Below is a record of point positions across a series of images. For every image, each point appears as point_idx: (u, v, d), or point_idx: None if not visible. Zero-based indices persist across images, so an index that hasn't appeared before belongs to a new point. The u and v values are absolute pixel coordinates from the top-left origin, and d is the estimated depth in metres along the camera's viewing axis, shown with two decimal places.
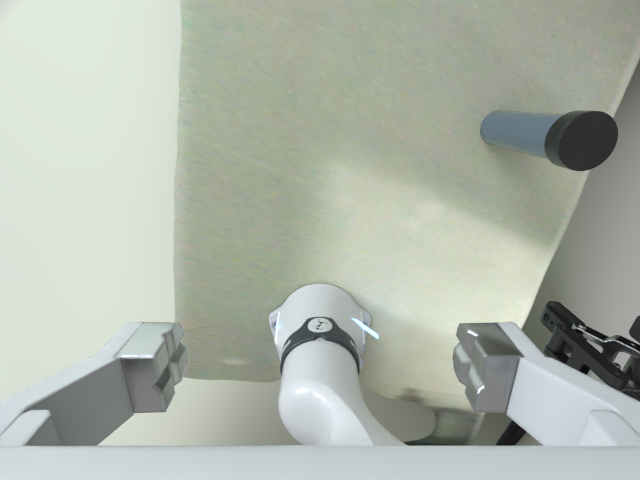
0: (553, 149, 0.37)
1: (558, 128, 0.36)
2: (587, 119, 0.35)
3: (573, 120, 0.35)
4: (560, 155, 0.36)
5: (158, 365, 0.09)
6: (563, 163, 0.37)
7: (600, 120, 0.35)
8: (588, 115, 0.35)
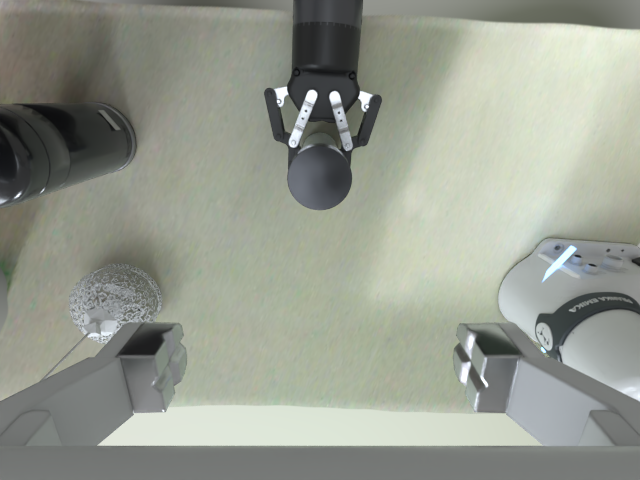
0: None
1: None
2: (297, 188, 0.33)
3: (300, 202, 0.33)
4: (337, 202, 0.33)
5: (158, 365, 0.09)
6: (345, 196, 0.33)
7: (296, 174, 0.32)
8: (293, 189, 0.33)
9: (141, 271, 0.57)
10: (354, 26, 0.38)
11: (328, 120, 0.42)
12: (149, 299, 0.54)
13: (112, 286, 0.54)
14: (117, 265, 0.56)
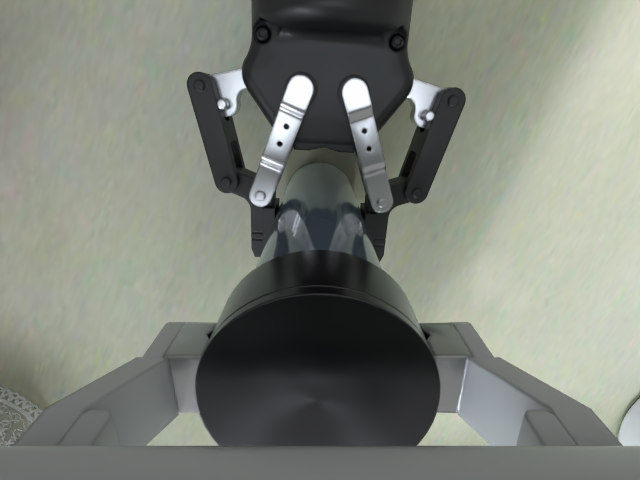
0: None
1: None
2: (234, 428, 0.09)
3: None
4: None
5: None
6: None
7: (227, 386, 0.08)
8: (219, 429, 0.09)
9: (13, 396, 0.33)
10: None
11: (339, 147, 0.18)
12: None
13: None
14: None
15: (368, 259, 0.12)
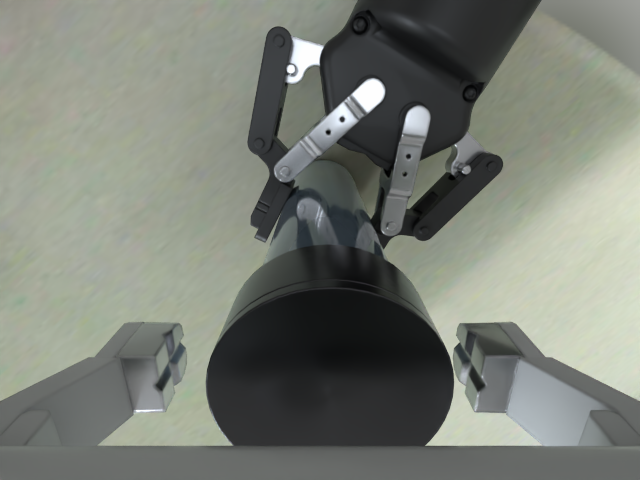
0: None
1: None
2: None
3: None
4: (436, 422, 0.09)
5: (158, 365, 0.09)
6: (450, 391, 0.08)
7: (249, 425, 0.09)
8: None
9: None
10: None
11: (377, 160, 0.19)
12: None
13: None
14: None
15: None
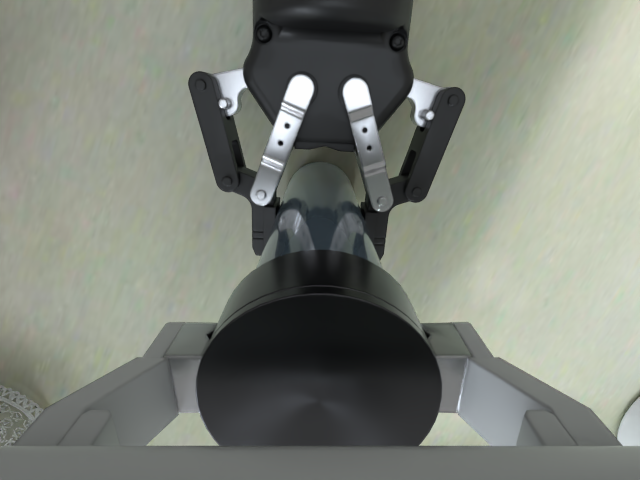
0: None
1: None
2: None
3: None
4: (435, 389, 0.08)
5: None
6: (432, 355, 0.08)
7: None
8: None
9: (14, 394, 0.33)
10: None
11: (339, 146, 0.19)
12: None
13: None
14: None
15: (368, 257, 0.12)
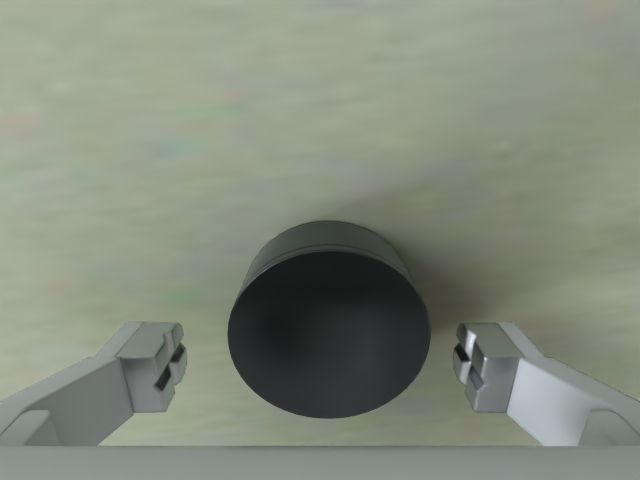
0: None
1: None
2: (320, 402, 0.11)
3: (360, 411, 0.11)
4: (424, 332, 0.10)
5: (159, 365, 0.09)
6: (422, 303, 0.10)
7: (282, 387, 0.11)
8: (316, 410, 0.11)
9: None
10: None
11: None
12: None
13: None
14: None
15: None
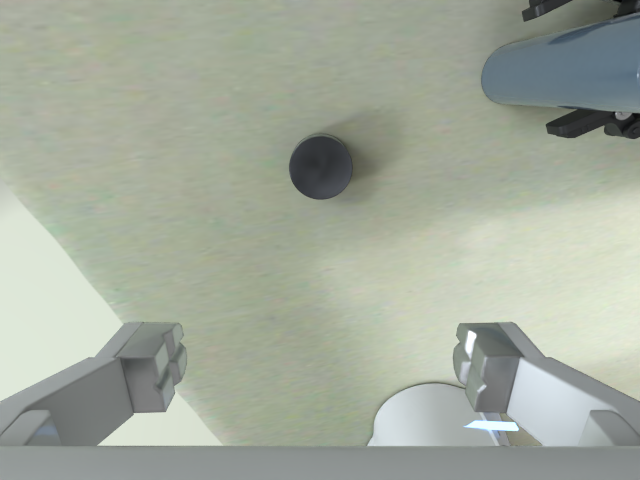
0: None
1: None
2: (318, 192, 0.34)
3: (331, 196, 0.34)
4: (350, 165, 0.33)
5: (158, 365, 0.09)
6: (348, 154, 0.33)
7: (305, 186, 0.34)
8: (316, 195, 0.34)
9: None
10: None
11: None
12: None
13: None
14: None
15: None
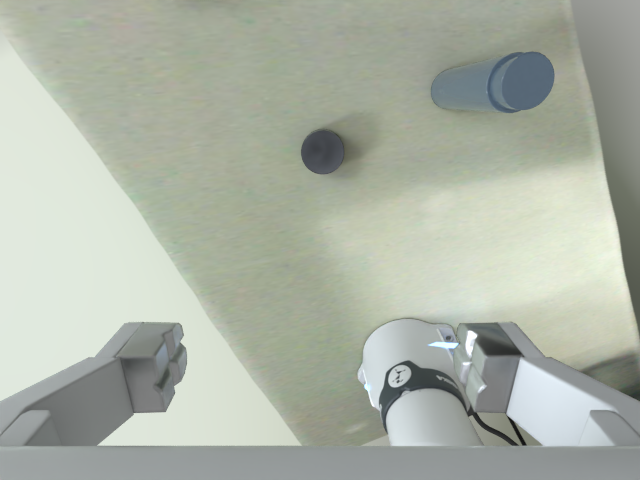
0: None
1: None
2: (320, 169, 0.49)
3: (330, 172, 0.50)
4: (342, 150, 0.48)
5: (158, 365, 0.09)
6: (341, 143, 0.48)
7: (312, 164, 0.49)
8: (319, 171, 0.49)
9: None
10: None
11: None
12: None
13: None
14: None
15: None
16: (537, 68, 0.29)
